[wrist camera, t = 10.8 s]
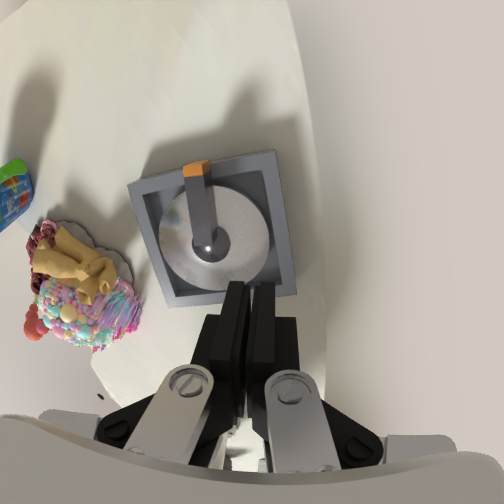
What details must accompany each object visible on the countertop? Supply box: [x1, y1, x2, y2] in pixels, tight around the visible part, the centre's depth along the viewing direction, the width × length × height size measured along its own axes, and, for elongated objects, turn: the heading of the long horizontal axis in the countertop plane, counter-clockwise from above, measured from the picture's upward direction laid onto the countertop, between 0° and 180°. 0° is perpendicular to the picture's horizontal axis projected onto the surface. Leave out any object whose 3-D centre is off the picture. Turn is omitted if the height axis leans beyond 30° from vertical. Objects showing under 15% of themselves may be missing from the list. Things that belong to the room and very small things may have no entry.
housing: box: [127, 149, 297, 308], centre depth 32 cm, size 16×16×3 cm
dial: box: [159, 160, 270, 291], centre depth 29 cm, size 15×12×5 cm
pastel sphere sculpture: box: [24, 219, 142, 354], centre depth 35 cm, size 25×24×9 cm
